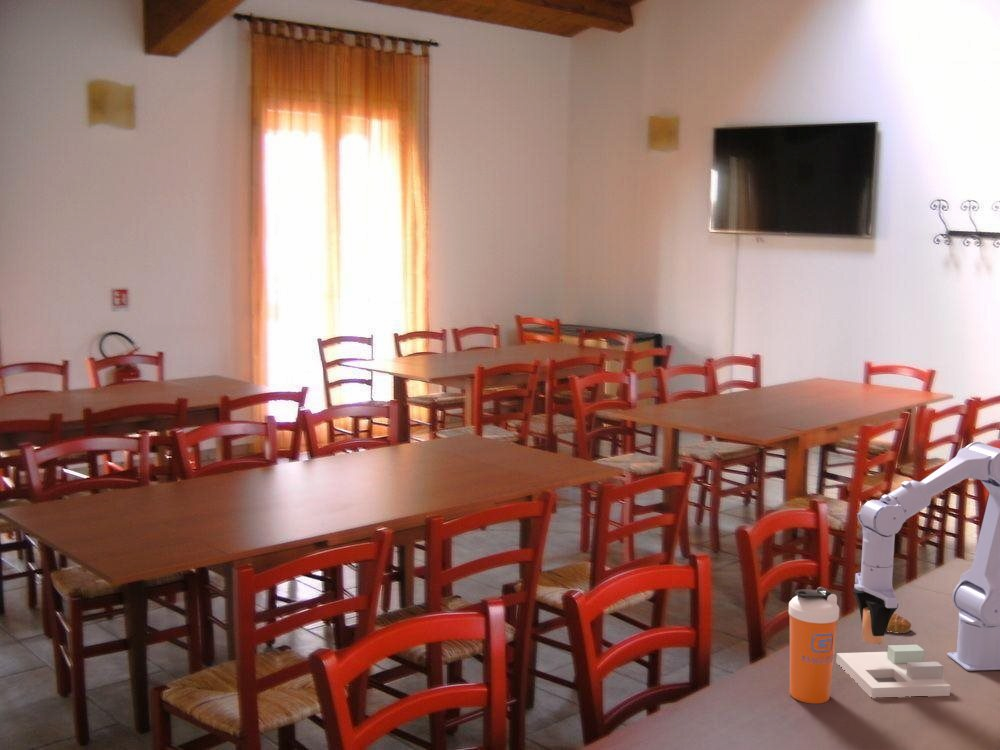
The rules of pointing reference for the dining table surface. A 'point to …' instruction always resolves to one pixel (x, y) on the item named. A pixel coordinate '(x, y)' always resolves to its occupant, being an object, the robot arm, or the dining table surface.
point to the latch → (905, 653)
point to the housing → (893, 675)
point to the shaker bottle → (812, 644)
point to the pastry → (898, 624)
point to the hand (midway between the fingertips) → (873, 630)
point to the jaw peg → (869, 629)
